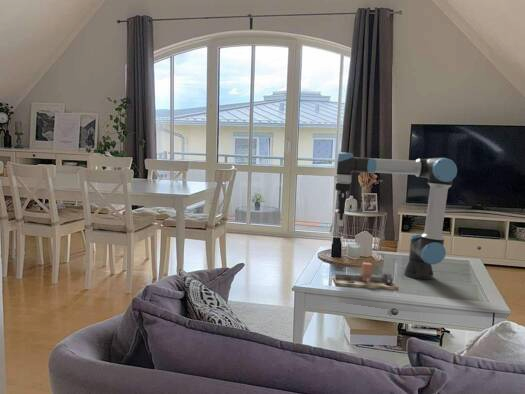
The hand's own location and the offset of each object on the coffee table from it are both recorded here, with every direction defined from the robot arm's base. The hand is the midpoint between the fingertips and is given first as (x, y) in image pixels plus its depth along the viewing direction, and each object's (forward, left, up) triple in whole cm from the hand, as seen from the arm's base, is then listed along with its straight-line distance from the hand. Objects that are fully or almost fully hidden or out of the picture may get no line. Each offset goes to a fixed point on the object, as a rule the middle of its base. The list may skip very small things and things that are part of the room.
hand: (340, 224), depth 249 cm
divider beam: (-12, +13, -27) cm, 32 cm away
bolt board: (-12, +13, -27) cm, 32 cm away
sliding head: (-13, +12, -25) cm, 31 cm away
